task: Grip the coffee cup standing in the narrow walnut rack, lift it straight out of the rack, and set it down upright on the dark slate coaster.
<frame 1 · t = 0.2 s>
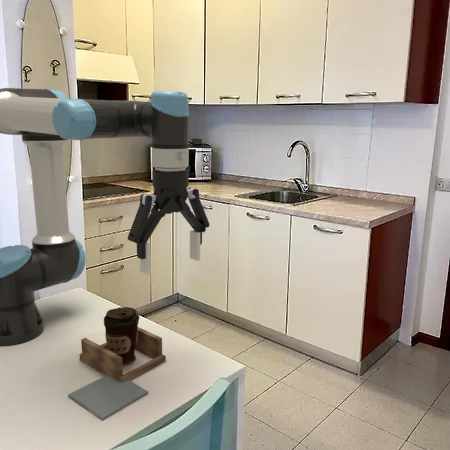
hand: (171, 265, 102), 27 cm above the table, fingers open, 13 cm apart
coffee cup: (122, 361, 115), resting in rack
coaster: (108, 395, 101), on the table
rack: (122, 360, 115), on the table
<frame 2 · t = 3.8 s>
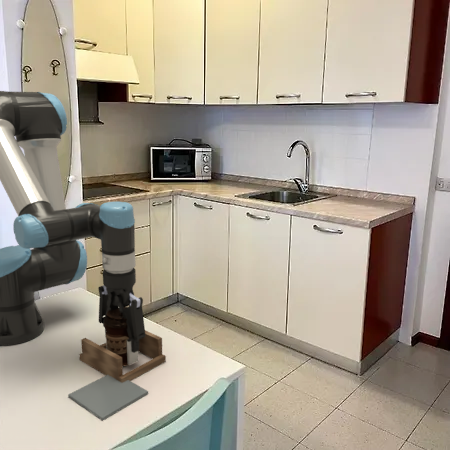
hand: (122, 356, 115), 1 cm above the table, fingers closed on coffee cup, 7 cm apart
coffee cup: (122, 361, 115), resting in rack, touching gripper
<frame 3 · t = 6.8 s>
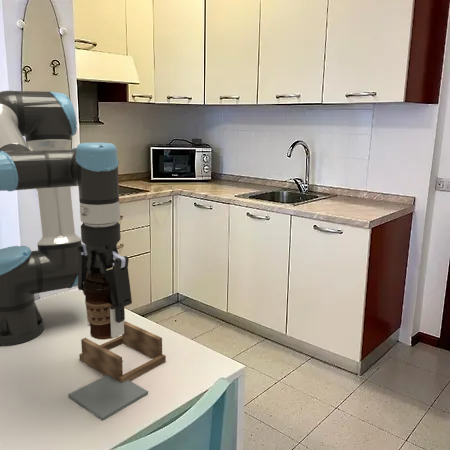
hand: (105, 329, 98), 16 cm above the table, fingers closed on coffee cup, 7 cm apart
coffee cup: (106, 334, 98), point 14 cm above the table, touching gripper
when the fingers open (3 cm above the table, at t = 9.7 s): coffee cup drops 2 cm, resting on coaster.
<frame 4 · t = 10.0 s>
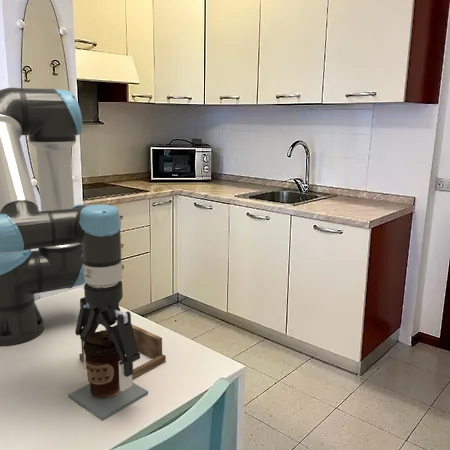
hand: (107, 377, 100), 4 cm above the table, fingers open, 11 cm apart
coffee cup: (105, 391, 102), resting on coaster
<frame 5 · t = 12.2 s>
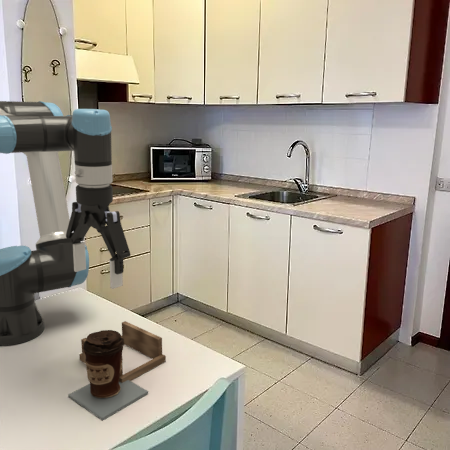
hand: (97, 278, 104), 23 cm above the table, fingers open, 13 cm apart
nothing on the table moved.
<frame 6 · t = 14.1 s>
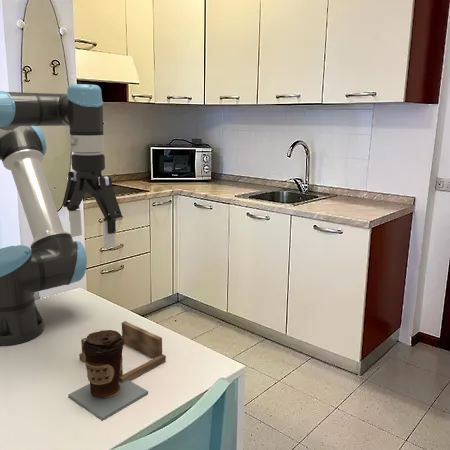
hand: (92, 241, 114), 29 cm above the table, fingers open, 13 cm apart
nothing on the table moved.
at the end: coffee cup inside the target area on the coaster (1.1 cm from its centre), point 0.4 cm above the coaster's base; coffee cup touching coaster; coffee cup tilted 0° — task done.
